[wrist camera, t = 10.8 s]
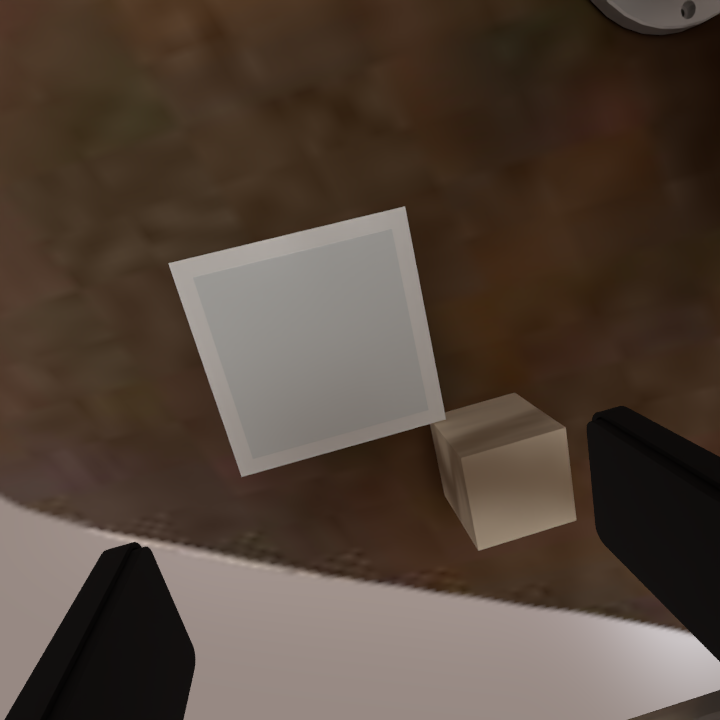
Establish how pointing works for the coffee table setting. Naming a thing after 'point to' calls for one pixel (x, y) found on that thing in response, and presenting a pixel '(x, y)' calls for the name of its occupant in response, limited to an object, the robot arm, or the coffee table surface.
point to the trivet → (313, 339)
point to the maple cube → (504, 469)
